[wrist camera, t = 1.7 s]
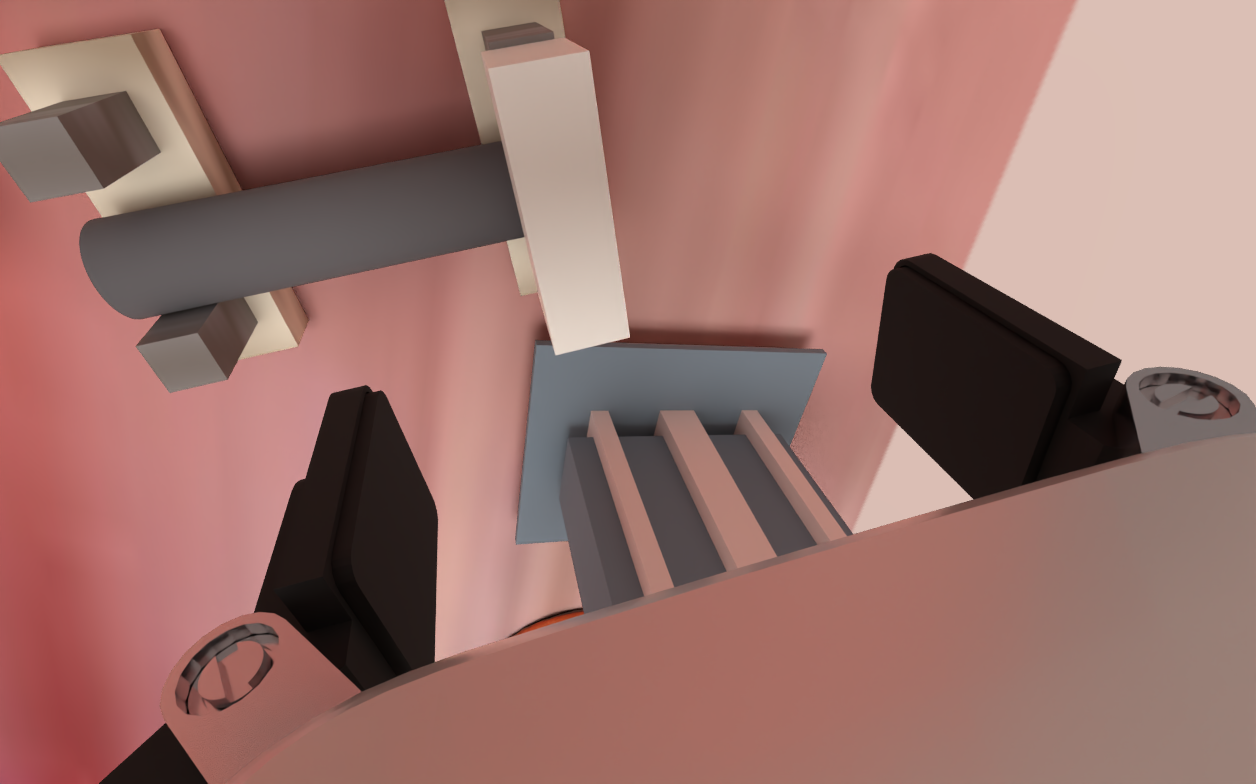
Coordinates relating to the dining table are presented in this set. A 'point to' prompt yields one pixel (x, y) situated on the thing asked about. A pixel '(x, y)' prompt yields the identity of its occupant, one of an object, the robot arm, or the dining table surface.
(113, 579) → the dining table surface
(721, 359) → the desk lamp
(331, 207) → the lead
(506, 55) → the beige rectangular block
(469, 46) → the clamp board
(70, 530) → the dining table surface
